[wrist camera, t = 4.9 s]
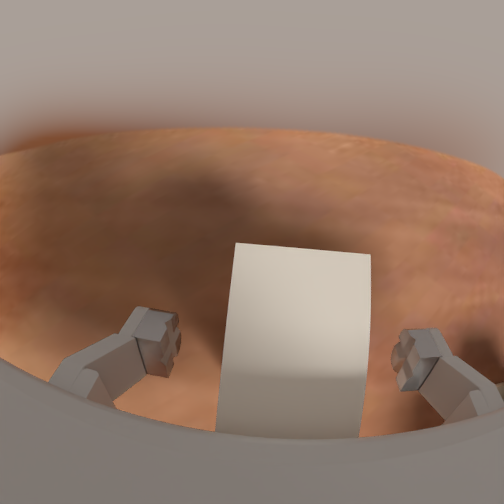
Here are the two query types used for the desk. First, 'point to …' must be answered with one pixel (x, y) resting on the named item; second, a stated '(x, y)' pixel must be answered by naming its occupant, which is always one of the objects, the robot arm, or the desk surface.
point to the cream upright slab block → (295, 343)
